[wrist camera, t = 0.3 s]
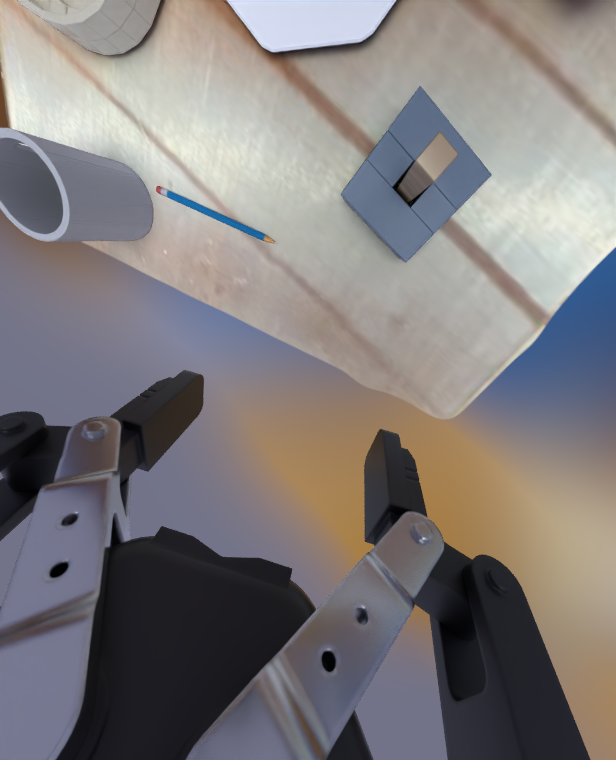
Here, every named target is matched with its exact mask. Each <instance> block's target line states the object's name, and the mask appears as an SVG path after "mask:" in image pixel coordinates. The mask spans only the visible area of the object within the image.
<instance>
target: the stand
mask: <svg viewBox="0 0 616 760" xmlns="http://www.w3.org/2000/svg"><path fill="white" fill-rule="evenodd" d="M438 132H441V133H442V134H443V135H444V136H445V138H446V139H447V140H448V141H449V143H450V144H451V145H452V146H453V147H454V149H455V150H456V151H457V152H458V156H457V157H456V158H455V159H454V160H453V162H452V163H451V164H450V165H449V166H448V167H447V168H446V169H445V171H444V172H443V173H442V174H441V175H440V176H439V177H438V178H437V180H436V181H435V182H433V183H432V184H431V185H430V186H428V187H427V188H426V189H425V190H423V191H422V192H421V193H420V194H419V195H418V196H417V197H416V198H415V200H414V201H413V202H412V203H411V204H410V205H409V206H408V205H407V204H406V203H405V201H404V200H403V199H402V198H401V197H400V196H399V195H398V194H397V193H396V191H395V190H394V187H395V186H396V185H397V184H398V183H399V181H400V180H401V179H402V178H403V177H404V175H405V174H407V173H408V171H409V170H410V168H411V167H412V165H413V164H414V162H415V161H416V159H417V158H418V157H419V155H420V154H421V153H422V152H423V151H424V149H425V148H426V147H427V146H428V144H429V143H430V142H431V141H432V140H433V138H434V137H435V136H436V135H437V133H438ZM490 176H491V173H490V172H489V171H488V169H487V168H486V167H485V166H484V164H483V163H482V162H481V161H480V159H479V158H478V157H477V156H476V154H475V153H474V152H473V151H472V150H471V148H470V147H469V146H468V145H467V143H466V142H465V141H464V140H463V138H462V137H461V136H460V135H459V133H458V132H457V131H456V130H455V128H454V127H453V126H452V125H451V123H450V122H449V121H448V120H447V118H446V117H445V116H444V115H443V113H442V112H441V111H440V110H439V108H438V107H437V106H436V105H435V103H434V102H433V101H432V100H431V99H430V97H429V96H428V95H427V94H426V92H425V91H424V90H423V89H422V87H421V86H420V87H419V88H418V89H417V91H416V92H415V93H414V95H413V96H412V98H411V99H410V100H409V102H408V103H407V104H406V106H405V107H404V108H403V110H402V111H401V113H400V114H399V115H398V117H397V118H396V119H395V121H394V122H393V123H392V125H391V126H390V128H389V129H388V131H387V132H386V133H385V134H384V136H383V137H382V139H381V140H380V141H379V143H378V144H377V145H376V147H375V148H374V149H373V151H372V152H371V154H370V155H369V156H368V158H367V159H366V160H365V162H364V163H363V164H362V166H361V167H360V168H359V170H358V171H357V173H356V174H355V175H354V177H353V178H352V179H351V181H350V182H349V183H348V185H347V186H346V188H345V189H344V190H343V192H342V193H341V195H342V197H343V199H344V201H345V202H346V203H347V204H348V205H349V206H350V207H351V208H352V210H353V211H354V212H355V213H356V214H357V215H358V216H359V217H360V218H361V219H362V220H363V221H364V222H365V223H366V224H367V225H368V226H369V227H370V228H371V229H372V230H373V232H374V233H375V234H376V235H377V236H378V237H379V238H380V239H381V240H382V241H383V242H384V243H385V244H386V245H387V246H388V247H389V248H390V249H391V250H392V251H393V252H394V253H395V255H396V256H397V257H398V258H399V259H401V260H403V261H404V262H407V261H408V260H409V259H410V258H411V257H412V256H413V255H414V254H415V253H416V252H417V251H418V250H419V249H420V248H421V247H422V246H423V245H424V243H425V242H426V241H427V240H428V239H429V238H430V237H431V236H432V235H433V234H434V233H435V232H436V231H437V230H438V229H439V228H440V227H441V226H442V225H443V224H444V223H445V222H446V221H447V220H448V219H449V218H450V217H451V216H452V215H453V214H454V213H455V212H456V211H457V210H458V209H459V208H460V207H461V206H462V205H463V204H464V203H465V202H466V201H467V200H468V199H469V198H470V197H471V196H472V195H473V194H474V193H475V191H476V190H477V189H478V188H479V187H480V186H481V185H482V184H483V183H484V182H485V181H486V180H487V179H488V178H489V177H490Z"/></svg>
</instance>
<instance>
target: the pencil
mask: <svg viewBox="0 0 616 760" xmlns="http://www.w3.org/2000/svg"><path fill="white" fill-rule="evenodd" d="M156 191H157V192H158V193H159V194H162V195H164V196H166V197H168V198H170V199H173V200H175V201H177V202H179V203H181V204H184V205H186V206H188V207H190V208H192V209H195V210H197V211H199V212H201V213H203V214H205V215H208V216H210V217H212V218H214V219H216V220H219V221H221V222H223V223H225V224H227V225H230V226H232V227H234V228H236V229H238V230H241V231H243V232H245V233H247V234H249V235H252V236H254V237H256V238H258V239H260V240H263V241H266V242H271V243H276V242H275V241H273V240H272V239H271V238H269V237H268V236H267V235H265V234H263V233H261V232H258V231H256V230H254V229H252V228H250V227H248V226H245V225H243V224H241V223H239V222H237V221H234V220H232V219H230V218H228V217H226V216H223V215H221V214H219V213H217V212H215V211H212V210H210V209H208V208H206V207H204V206H201V205H199V204H197V203H195V202H193V201H191V200H188V199H186V198H184V197H182V196H180V195H177V194H175V193H173V192H171V191H169V190H166V189H164V188H162V187H160V186H157V187H156Z"/></svg>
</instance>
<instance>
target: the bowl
mask: <svg viewBox="0 0 616 760" xmlns="http://www.w3.org/2000/svg"><path fill="white" fill-rule="evenodd" d="M18 1H19V2H20V3H21V4H22V5H23V6H24V7H26V8H27V9H29V10H30V11H32V12H33V13H35V14H36V15H38V16H39V17H40V18H42V19H43V20H45V21H46V22H48V23H49V24H51V25H52V26H54V27H55V28H57V29H58V30H60V31H61V32H62V33H64V34H65V35H67V36H68V37H70V38H71V39H73V40H74V41H76V42H77V43H79V44H80V45H82V46H83V47H85V48H86V49H87V50H89V51H93V52H96V53H100V54H103V55H115V54H123V53H125V52H126V51H128V50H130V49H131V48H133V47H134V46H136V45H137V44H138V43H140V41H141V40H142V39H143V37H144V36H145V34H146V33H147V32H148V30H149V29H150V28H151V25H152V23H153V20H154V17H155V15H156V12H157V9H158V7H159V4H160V1H161V0H18Z"/></svg>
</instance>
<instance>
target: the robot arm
mask: <svg viewBox="0 0 616 760" xmlns="http://www.w3.org/2000/svg"><path fill="white" fill-rule="evenodd" d="M203 385H204V378H203V376H202V375H201V374H197V373H194V372H190V371H187V370H184V371H182V372H181V373H179V374H178V375H177V376H176V377H174V378H166V379H164V380H161V381H159V382H156V383H155V384H154V385H152V386H151V387H149V388H148V390H145V391H144V392H143V393H141V394H140V396H137V397H136V398H135V399H133V400H132V401H131V402H129V403H128V404H126V405H125V406H124V407H122V408H121V409H119V410H118V411H117V412H115V413H114V414H113V415H111V416H110V417H93V418H89V419H86V420H83V421H81V422H79V423H77V424H76V425H74V426H73V427H69V426H47V425H46V424H45V421H44V418H43V417H42V416H41V415H40V414H38V413H35V412H27V411H26V412H15V413H10V414H6V415H3V416H0V472H1V474H2V475H3V477H4V478H3V479H1V480H0V541H1V540H2V539H3V538H4V537H5V536H6V535H7V534H8V533H10V532H11V531H12V530H13V529H14V528H15V527H16V526H17V525H18V524H19V523H21V522H22V521H23V520H24V519H25V518H26V517H27V516H28V515H29V514H30V513H31V512H32V515H31V518H30V521H29V524H28V527H27V530H26V533H25V536H24V539H23V542H22V545H21V548H20V551H19V554H18V557H17V560H16V563H15V567H14V570H13V573H12V576H11V579H10V582H9V585H8V588H7V591H6V594H5V597H4V600H3V603H2V606H0V760H373V757H372V754H371V752H370V749H369V746H368V744H367V741H366V738H365V736H364V733H363V730H362V728H361V725H360V722H359V720H358V717H357V714H356V712H355V708H356V706H357V704H358V703H359V701H360V699H361V698H362V696H363V694H364V692H365V691H366V689H367V687H368V686H369V684H370V682H371V681H372V679H373V677H374V675H375V674H376V672H377V670H378V669H379V667H380V665H381V663H382V662H383V660H384V658H385V657H386V655H387V653H388V651H389V650H390V648H391V646H392V645H393V643H394V641H395V640H396V638H397V636H398V634H399V633H400V631H401V629H402V628H403V626H404V624H405V623H406V621H407V619H408V617H409V616H410V614H411V612H412V610H413V608H414V605H415V604H416V605H417V606H418V607H420V608H421V609H422V610H424V611H425V612H427V613H428V614H429V615H430V622H431V630H432V637H433V645H434V654H435V662H436V669H437V677H438V685H439V693H440V701H441V709H442V717H443V724H444V733H445V741H446V748H447V756H448V760H590V758H589V755H588V753H587V750H586V748H585V745H584V743H583V740H582V738H581V735H580V732H579V730H578V727H577V725H576V723H575V720H574V717H573V715H572V713H571V710H570V708H569V705H568V702H567V700H566V697H565V695H564V692H563V690H562V688H561V685H560V682H559V680H558V677H557V675H556V672H555V670H554V667H553V665H552V662H551V660H550V657H549V655H548V652H547V650H546V647H545V645H544V642H543V640H542V637H541V635H540V632H539V630H538V627H537V624H536V622H535V620H534V617H533V614H532V612H531V609H530V607H529V604H528V602H527V599H526V597H525V594H524V592H523V590H522V587H521V586H520V584H519V582H518V581H517V579H516V578H515V576H514V575H513V574H512V573H511V572H510V570H509V569H508V568H507V567H505V566H504V565H503V564H502V563H501V562H499V561H498V560H496V559H494V558H493V557H490V556H487V555H478V556H476V557H475V558H474V559H473V560H472V559H470V558H468V557H467V556H465V555H464V554H462V553H460V552H459V551H457V550H456V549H454V548H452V547H451V546H449V545H448V544H447V543H445V542H444V540H443V537H442V535H441V533H440V531H439V529H438V528H437V526H436V525H435V524H434V523H433V522H432V521H431V520H430V519H428V518H427V513H426V508H425V504H424V499H423V495H422V490H421V486H420V483H419V477H418V473H417V468H416V464H415V460H414V458H413V457H412V455H411V454H410V452H409V451H408V449H404V448H401V444H400V438H399V435H398V434H396V433H393V432H389V431H386V430H383V429H380V430H379V432H378V433H377V435H376V438H375V440H374V442H373V443H372V446H371V448H370V450H369V452H368V454H367V456H366V461H365V466H364V467H365V469H364V477H365V479H364V483H365V542H368V543H371V544H374V546H375V547H374V548H373V549H372V550H371V551H370V552H368V553H367V554H366V555H365V556H364V557H363V558H362V559H361V560H360V561H359V562H358V564H357V565H356V566H355V567H354V568H353V569H352V570H351V572H350V573H349V574H348V575H347V576H346V577H345V578H344V579H343V580H342V581H341V583H340V584H339V585H338V586H337V587H336V588H335V589H334V590H333V592H332V593H331V594H330V595H329V596H328V597H327V598H326V600H325V601H324V602H323V603H322V604H321V605H320V606H319V607H318V608H317V610H316V608H315V606H314V605H313V603H312V602H311V600H310V599H309V598H308V596H307V595H306V594H305V592H304V591H303V590H302V589H301V588H300V587H299V586H298V585H297V584H296V583H294V582H293V581H291V580H290V577H291V573H292V568H289V567H285V566H282V565H279V564H276V563H273V562H270V561H267V560H264V559H261V558H235V557H234V558H233V557H222V556H220V555H218V554H217V553H215V552H214V551H213V550H211V549H210V548H209V547H207V546H206V545H204V544H203V543H202V542H200V541H199V540H198V539H196V538H195V537H193V536H190V535H187V534H184V533H181V532H178V531H175V530H172V529H169V528H166V527H163V526H162V527H161V528H160V529H159V531H158V532H157V534H156V535H155V536H150V537H141V538H137V539H132V540H130V529H129V516H130V494H131V493H130V492H131V474H132V473H133V472H134V471H135V470H136V469H137V468H138V469H141V470H144V471H149V470H150V469H151V468H152V467H153V466H154V464H155V463H156V462H157V461H158V460H159V459H160V458H161V457H162V456H163V454H164V453H165V452H166V451H167V450H168V449H169V448H170V447H171V445H172V444H173V443H174V442H175V441H176V440H177V439H178V438H179V437H180V435H181V434H182V433H183V432H184V431H185V430H186V429H187V428H188V426H189V425H190V424H191V423H192V422H193V421H194V419H195V418H196V417H197V416H198V415H199V413H200V412H201V409H202V406H203V387H204V386H203Z"/></svg>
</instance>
